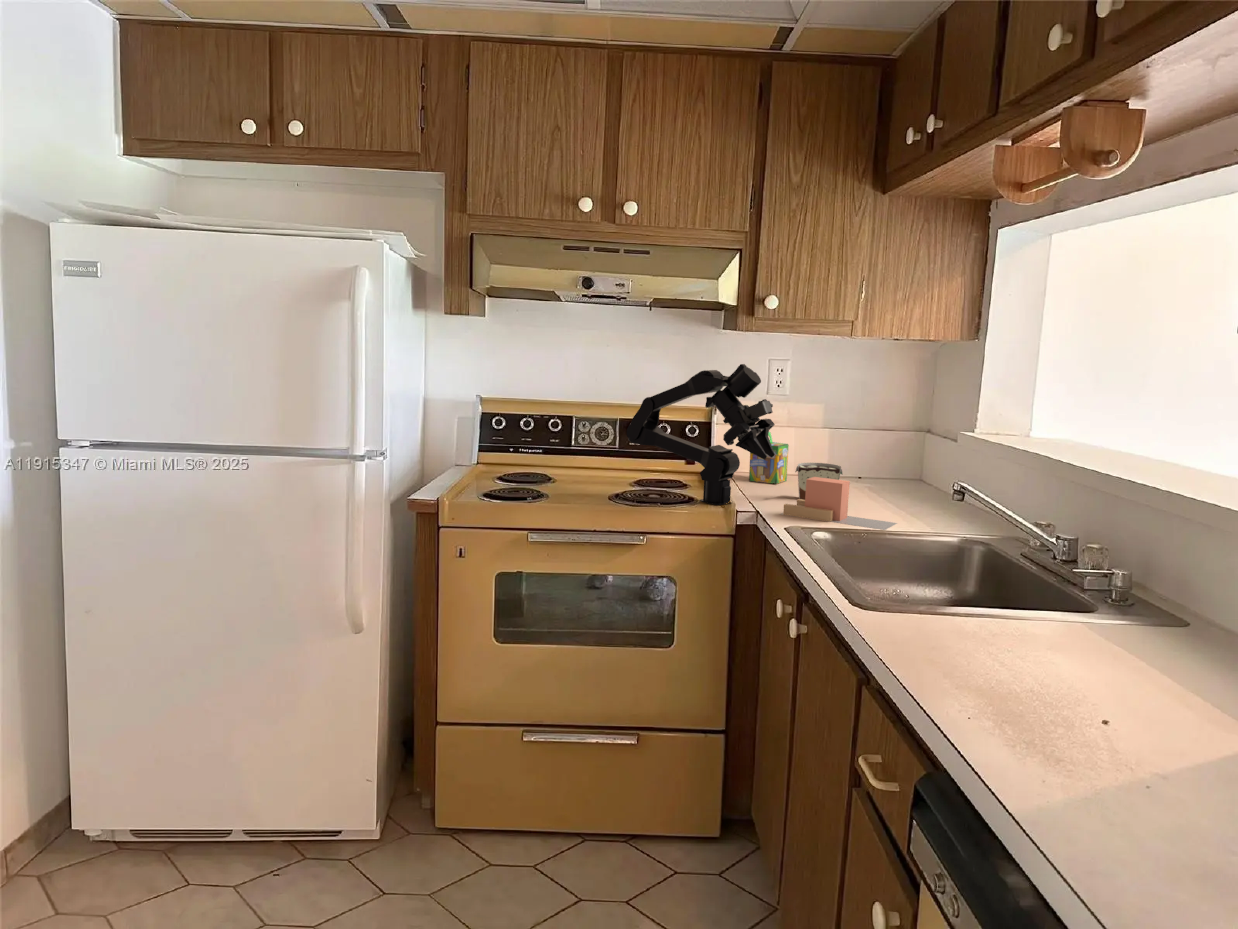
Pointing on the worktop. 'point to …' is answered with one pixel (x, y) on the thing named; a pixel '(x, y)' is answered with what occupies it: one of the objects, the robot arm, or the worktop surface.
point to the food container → (815, 474)
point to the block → (828, 495)
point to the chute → (831, 516)
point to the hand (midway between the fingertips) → (769, 457)
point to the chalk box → (770, 465)
